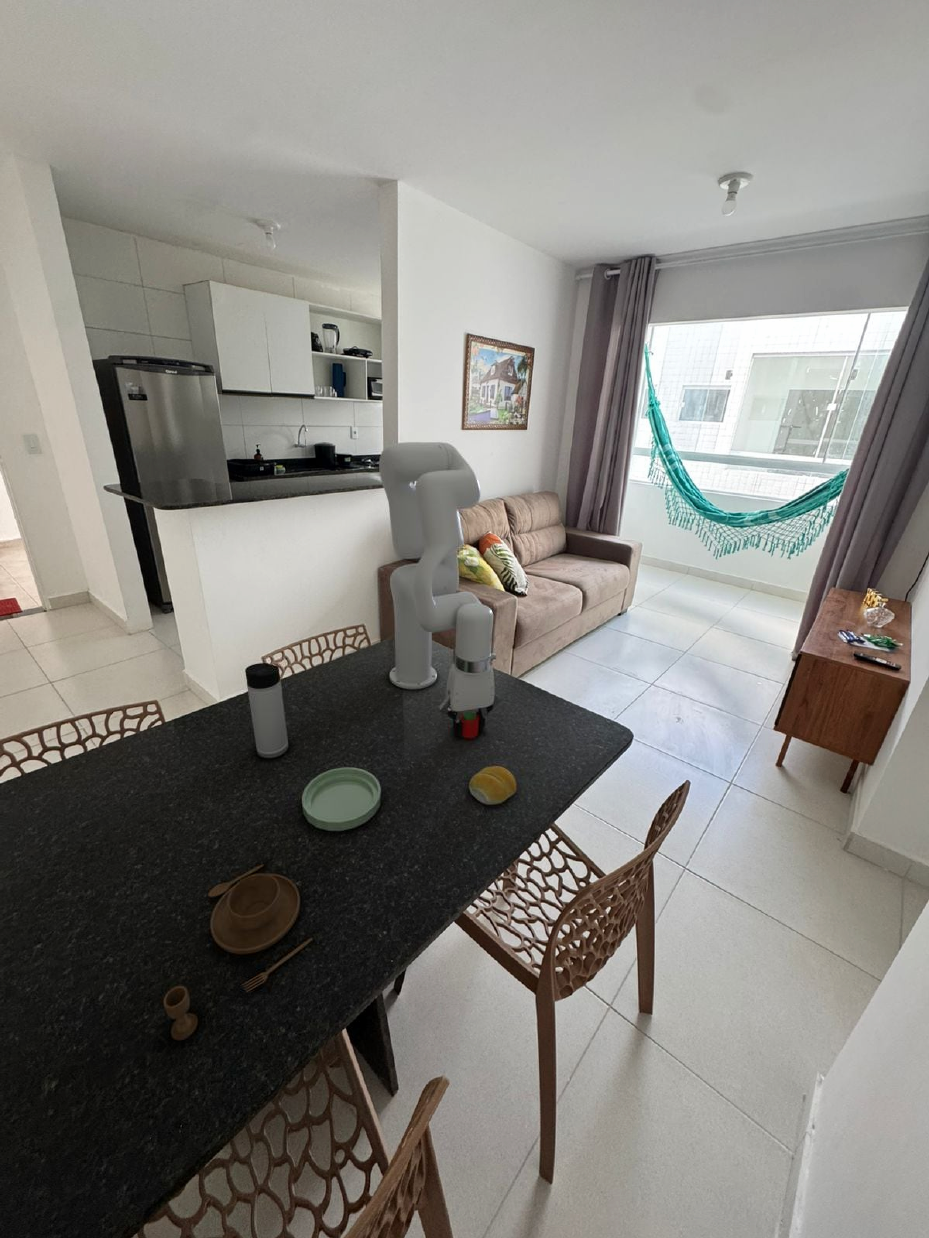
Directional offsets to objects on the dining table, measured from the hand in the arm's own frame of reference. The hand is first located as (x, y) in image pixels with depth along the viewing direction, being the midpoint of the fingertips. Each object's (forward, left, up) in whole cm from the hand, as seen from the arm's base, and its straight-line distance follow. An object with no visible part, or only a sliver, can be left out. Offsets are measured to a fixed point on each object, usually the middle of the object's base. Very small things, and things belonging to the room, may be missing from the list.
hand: (468, 730), depth 116 cm
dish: (+14, -30, 0) cm, 33 cm away
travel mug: (-6, -42, -1) cm, 42 cm away
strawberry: (0, 0, 0) cm, 0 cm away
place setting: (+35, -48, -1) cm, 59 cm away
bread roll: (+19, -2, -1) cm, 19 cm away
